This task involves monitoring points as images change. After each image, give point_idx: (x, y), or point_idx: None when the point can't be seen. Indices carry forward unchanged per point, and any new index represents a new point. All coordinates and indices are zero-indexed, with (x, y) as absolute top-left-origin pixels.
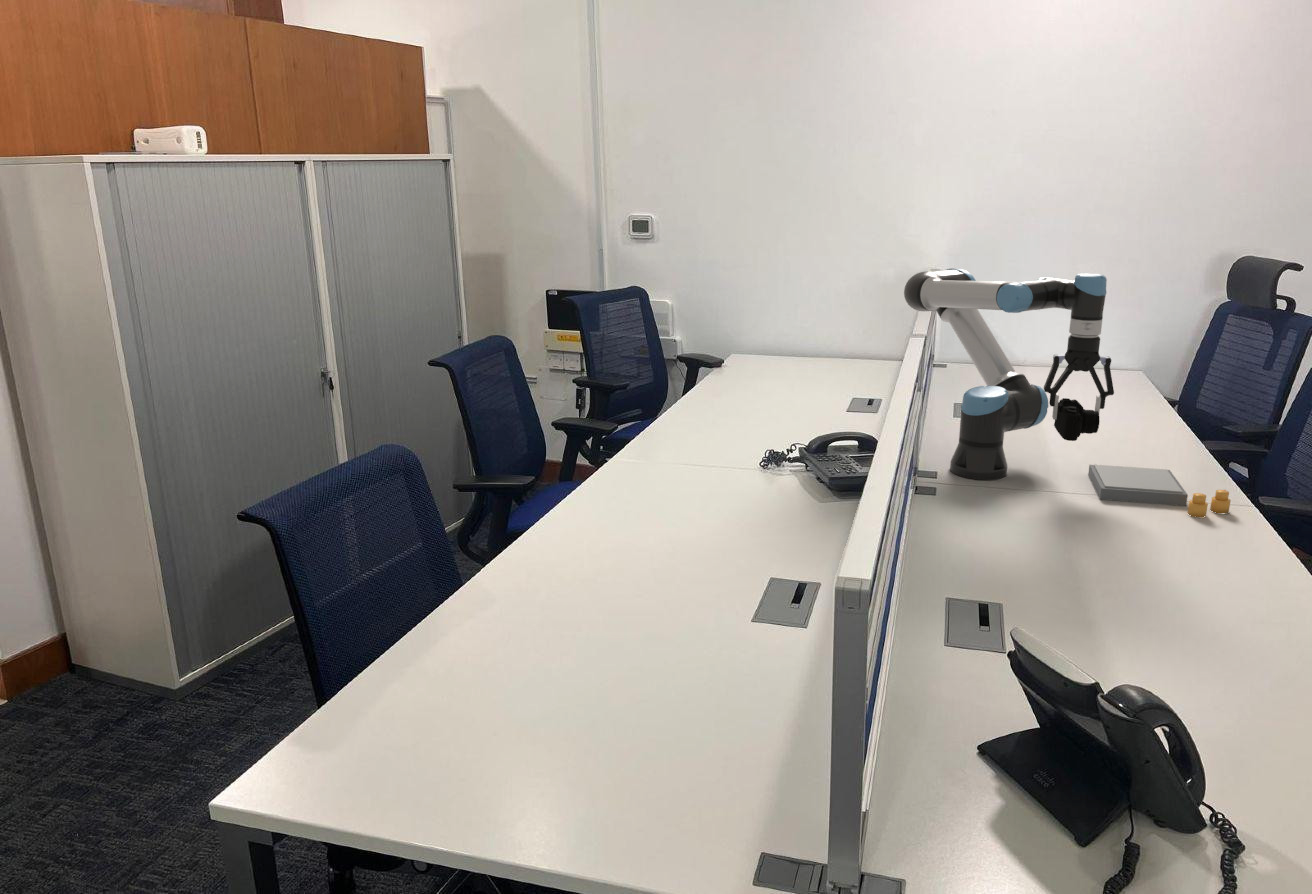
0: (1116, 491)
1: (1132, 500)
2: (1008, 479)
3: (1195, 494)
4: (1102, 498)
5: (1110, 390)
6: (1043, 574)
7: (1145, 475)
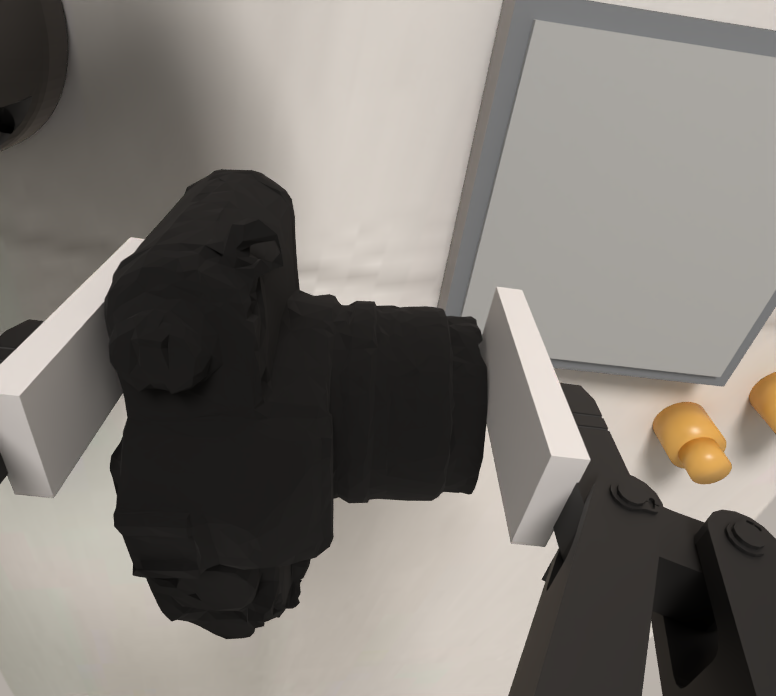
0: None
1: None
2: (88, 120)
3: (700, 468)
4: None
5: (680, 645)
6: (210, 655)
7: (710, 200)
